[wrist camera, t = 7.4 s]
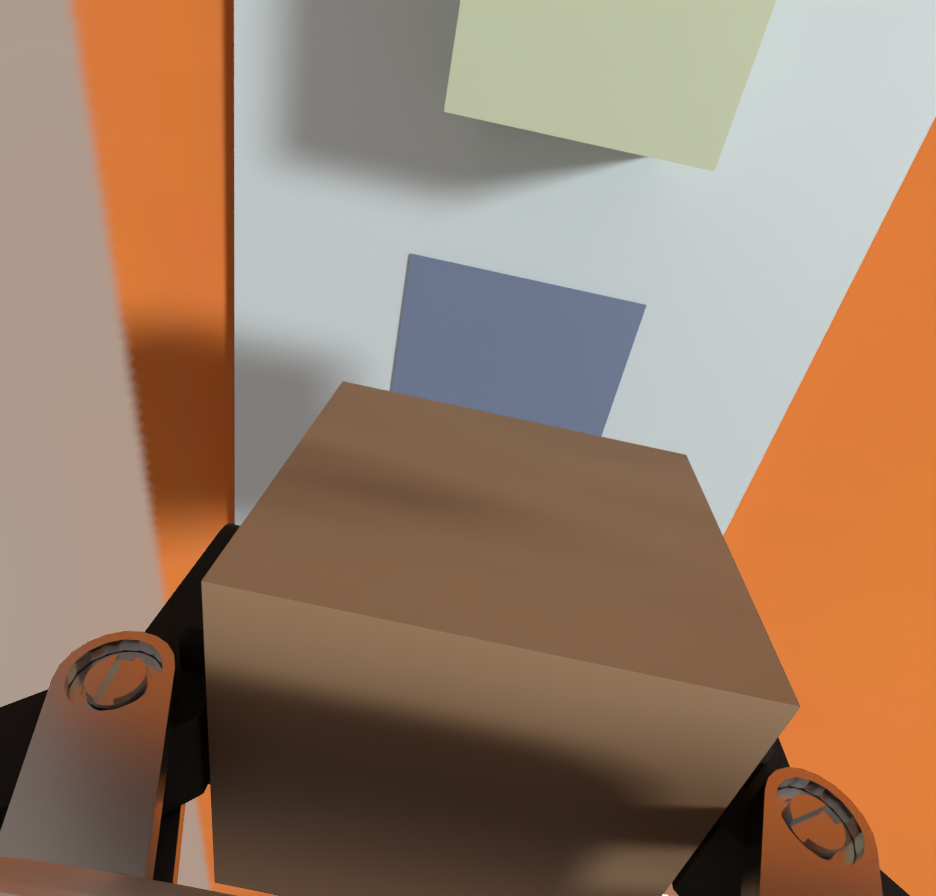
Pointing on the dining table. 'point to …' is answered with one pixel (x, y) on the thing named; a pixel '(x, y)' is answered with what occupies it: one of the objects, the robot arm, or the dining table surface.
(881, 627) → the dining table surface
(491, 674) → the walnut block
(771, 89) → the board
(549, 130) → the sage block
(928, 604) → the dining table surface
